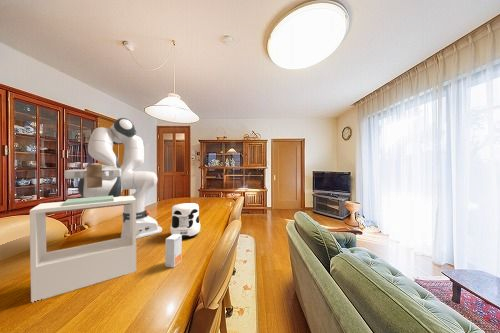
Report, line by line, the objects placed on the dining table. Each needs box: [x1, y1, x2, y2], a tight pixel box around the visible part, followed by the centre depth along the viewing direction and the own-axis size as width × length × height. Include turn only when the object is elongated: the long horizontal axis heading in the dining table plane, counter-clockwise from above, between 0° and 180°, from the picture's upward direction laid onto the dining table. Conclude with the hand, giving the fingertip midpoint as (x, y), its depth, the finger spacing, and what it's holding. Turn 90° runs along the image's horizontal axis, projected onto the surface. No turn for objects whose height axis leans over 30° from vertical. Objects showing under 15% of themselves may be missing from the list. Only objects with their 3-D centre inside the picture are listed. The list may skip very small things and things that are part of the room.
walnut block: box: [86, 163, 103, 188], centre depth 82 cm, size 5×5×10 cm
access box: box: [29, 195, 137, 303], centre depth 72 cm, size 28×12×30 cm, turn 127°
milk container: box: [170, 202, 201, 239], centre depth 115 cm, size 17×17×18 cm
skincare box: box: [164, 234, 183, 268], centre depth 82 cm, size 6×4×12 cm
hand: (94, 174), depth 82 cm, fingers closed on walnut block, 5 cm apart
